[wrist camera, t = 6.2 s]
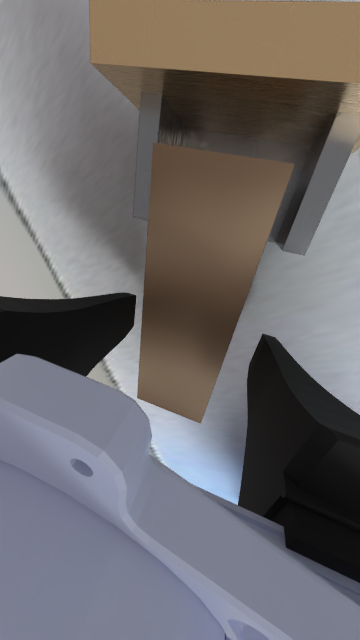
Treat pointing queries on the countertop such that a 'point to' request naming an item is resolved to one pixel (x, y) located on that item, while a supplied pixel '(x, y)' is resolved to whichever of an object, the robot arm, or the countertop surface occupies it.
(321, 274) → the countertop surface
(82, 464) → the robot arm
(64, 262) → the countertop surface
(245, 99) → the bracket
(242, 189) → the tan rectangular block
